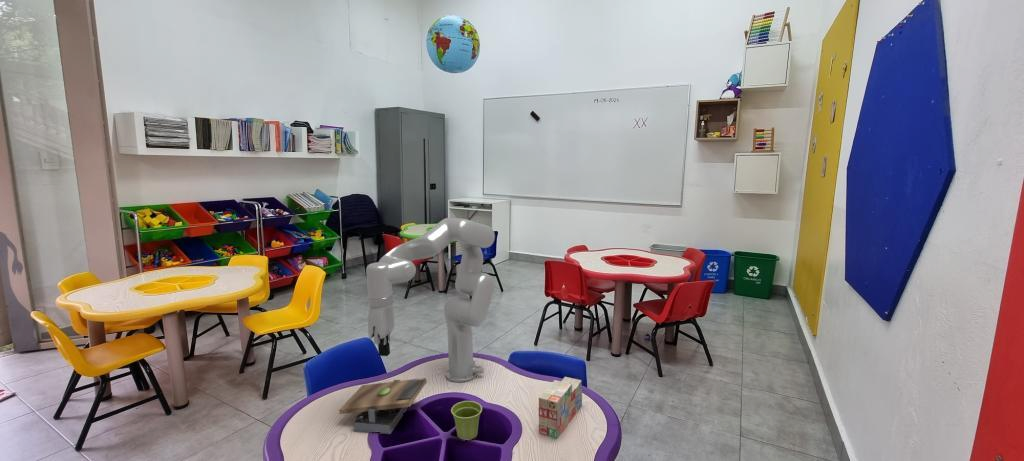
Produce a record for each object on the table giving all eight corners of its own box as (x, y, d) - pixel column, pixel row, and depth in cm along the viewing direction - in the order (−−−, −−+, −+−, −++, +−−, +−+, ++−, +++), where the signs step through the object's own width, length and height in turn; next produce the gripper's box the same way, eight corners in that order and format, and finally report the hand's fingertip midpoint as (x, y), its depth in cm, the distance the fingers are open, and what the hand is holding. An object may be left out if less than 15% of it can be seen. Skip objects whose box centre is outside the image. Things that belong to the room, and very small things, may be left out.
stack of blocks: (565, 401, 156) (565, 368, 154) (582, 405, 153) (582, 371, 151) (538, 434, 138) (538, 396, 136) (557, 439, 135) (557, 401, 133)
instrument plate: (427, 384, 155) (425, 375, 154) (410, 409, 139) (408, 399, 139) (364, 391, 159) (361, 382, 158) (340, 417, 143) (338, 407, 143)
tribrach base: (414, 398, 159) (413, 380, 158) (390, 434, 139) (388, 413, 138) (382, 396, 161) (381, 378, 160) (354, 431, 140) (352, 410, 139)
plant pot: (484, 426, 142) (483, 400, 141) (481, 444, 133) (480, 417, 131) (454, 426, 142) (453, 400, 141) (449, 444, 133) (448, 417, 132)
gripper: (380, 293, 151) (383, 345, 154) (358, 308, 137) (362, 364, 140) (401, 294, 150) (404, 346, 153) (381, 309, 136) (385, 365, 139)
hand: (384, 354), depth 146 cm, fingers closed
